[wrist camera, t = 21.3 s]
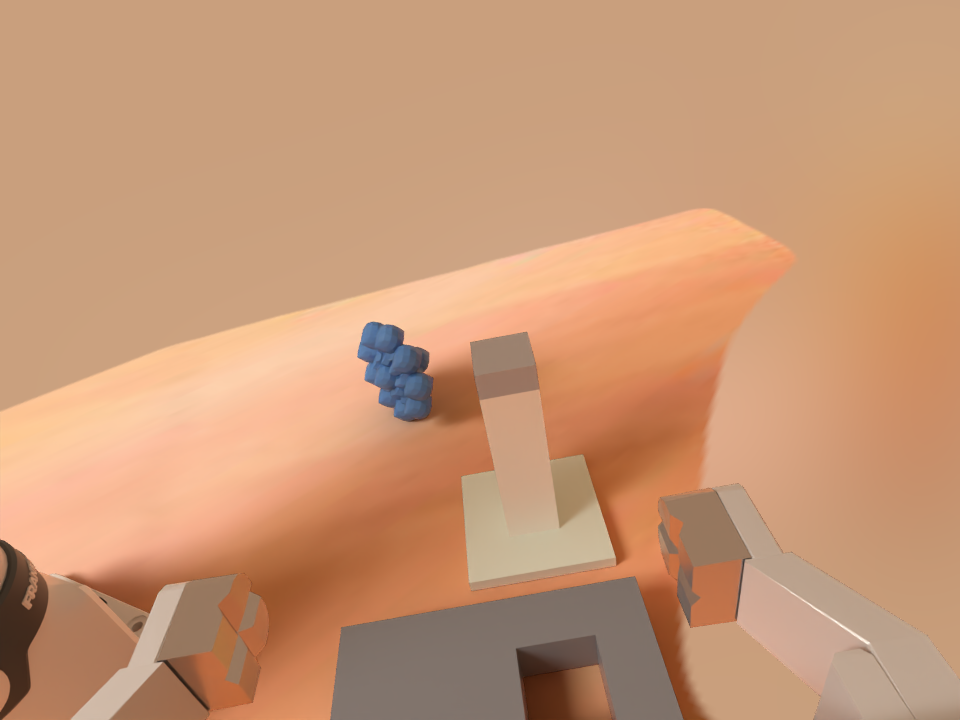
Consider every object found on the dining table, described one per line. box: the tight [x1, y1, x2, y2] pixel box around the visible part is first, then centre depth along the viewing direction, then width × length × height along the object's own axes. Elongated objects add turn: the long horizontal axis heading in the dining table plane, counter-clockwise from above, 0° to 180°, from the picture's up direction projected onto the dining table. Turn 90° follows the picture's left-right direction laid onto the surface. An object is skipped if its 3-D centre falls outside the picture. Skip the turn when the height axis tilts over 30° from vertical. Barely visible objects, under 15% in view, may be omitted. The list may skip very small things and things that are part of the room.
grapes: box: [358, 322, 433, 421], centre depth 60 cm, size 12×7×12 cm, turn 40°
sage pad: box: [461, 454, 616, 591], centre depth 49 cm, size 11×11×1 cm
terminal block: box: [330, 576, 684, 720], centre depth 36 cm, size 20×12×4 cm, turn 95°
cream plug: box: [470, 332, 560, 537], centre depth 45 cm, size 4×4×16 cm
